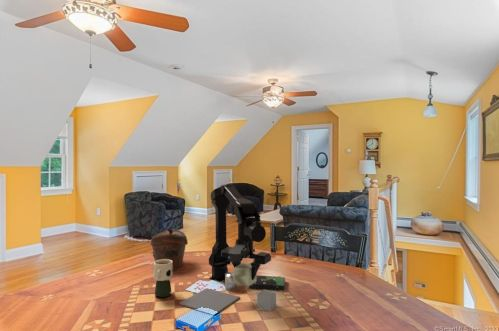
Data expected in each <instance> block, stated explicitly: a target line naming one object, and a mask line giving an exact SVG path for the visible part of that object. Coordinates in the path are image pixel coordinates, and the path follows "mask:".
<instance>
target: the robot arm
mask: <svg viewBox="0 0 499 331" xmlns="http://www.w3.org/2000/svg"><path fill="white" fill-rule="evenodd" d="M210 200H211V204H212V206H213V208H214V209H215V212H214V213H215V242H214V244H213V246H212V248H211V254H210V256H209V258H208V264H209V266H210V267H211V276H210V277H209V279H210V280H213V281H217V282H223V281H225V274H226V273H228V272H229V269H228V265H231V264H232V266H233V268H234V267H236V266H238V265H240V264H242V262H243V259H251V260H253V261H252V262H250V263H249V264H251V266H252V274H251V277H252V280H254V278H255V276H256V273H258V271H259V268H260V267H261V265H263V266H264V265H266V264H268V263H269V262H271V261H272V256H271V254H270V252H265V251H261V252H258V253H256V249H255V248H254V242H256V243H260V242H262V241H264V240H265V238H266V235H267V231H266V228H265V227H264V226H262V222H261V215H260V213H259V210H258V208H257V206H256V204H255V203H254V201H251V199H247V198H244V197H243V195H241V194H240V193H239V192H238V190H237V189H236V188H235V185H234V184H221V186H219V187H216V188H214V189H213V190H212V191H211V192H210ZM230 204H231V205H232V206H233V212H234V215H235V217H236V218H237V219H236V221H235V222H236V223H237V239H235V245H234V246H229V244H228V242H227V241H228V240H227V209H228V207H229V205H230Z"/></svg>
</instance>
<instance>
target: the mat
mask: <svg viewBox="0 0 499 331" xmlns="http://www.w3.org/2000/svg"><path fill="white" fill-rule="evenodd" d="M240 298H241V296H239V295H235V294H230V293H228V292H223V291H220V290H215V289H211V288H208V287H207V288H204V289H202V290H201V291H199V292H197V293H195V294H193V295H191V296H189V297H188V298H186V299H184V300H182V301H180V302H179V303H178V305H179V306H182V307H186V308H188V309H191V310H195V309H198V308H201V307H203V308H209V309H212V310H214V311H217V312H219V313H221V312H223V311H224V310H225V309H227V308H228V307H230V306H231V305H232V304H234V303H235V302H237V301H238V300H240ZM195 311H196V310H195Z"/></svg>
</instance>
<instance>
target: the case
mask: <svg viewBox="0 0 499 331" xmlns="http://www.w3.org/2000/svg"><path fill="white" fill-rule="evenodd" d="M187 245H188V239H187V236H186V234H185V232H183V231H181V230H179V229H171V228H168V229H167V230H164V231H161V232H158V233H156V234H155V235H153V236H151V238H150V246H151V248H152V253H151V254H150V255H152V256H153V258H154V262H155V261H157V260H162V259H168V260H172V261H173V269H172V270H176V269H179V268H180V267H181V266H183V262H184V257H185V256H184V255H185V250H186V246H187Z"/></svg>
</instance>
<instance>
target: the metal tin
mask: <svg viewBox="0 0 499 331" xmlns="http://www.w3.org/2000/svg"><path fill="white" fill-rule="evenodd" d="M224 289H225V291H228V292H235V291H237V290H238V284H234V271H228V273H226V274H225V280H224Z"/></svg>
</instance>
